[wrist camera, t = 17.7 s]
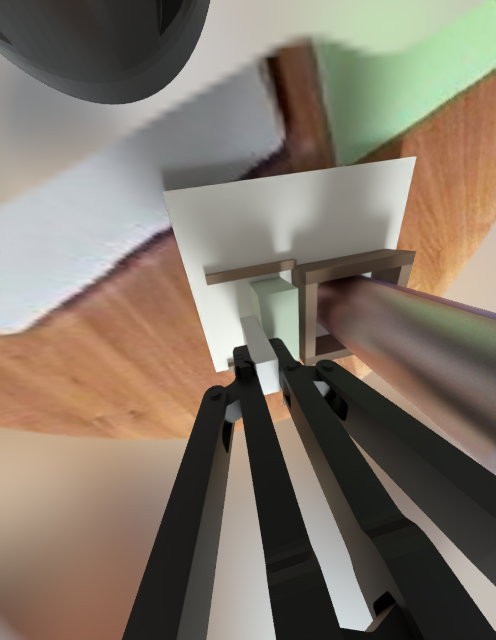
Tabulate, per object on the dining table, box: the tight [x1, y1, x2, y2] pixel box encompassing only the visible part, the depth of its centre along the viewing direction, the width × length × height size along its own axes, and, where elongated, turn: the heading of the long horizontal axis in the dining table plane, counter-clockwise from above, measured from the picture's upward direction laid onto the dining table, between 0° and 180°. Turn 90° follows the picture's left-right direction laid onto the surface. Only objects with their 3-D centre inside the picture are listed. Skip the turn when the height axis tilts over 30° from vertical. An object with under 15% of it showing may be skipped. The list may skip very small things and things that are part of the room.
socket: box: [291, 249, 416, 366], centre depth 18 cm, size 10×10×3 cm
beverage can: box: [316, 275, 496, 474], centre depth 12 cm, size 6×6×15 cm
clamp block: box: [249, 277, 299, 361], centre depth 16 cm, size 8×3×4 cm, turn 9°
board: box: [162, 156, 416, 373], centre depth 18 cm, size 17×20×2 cm
